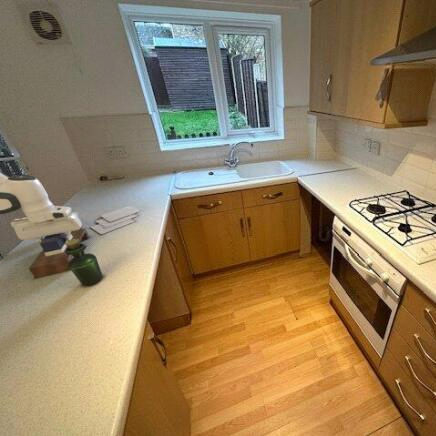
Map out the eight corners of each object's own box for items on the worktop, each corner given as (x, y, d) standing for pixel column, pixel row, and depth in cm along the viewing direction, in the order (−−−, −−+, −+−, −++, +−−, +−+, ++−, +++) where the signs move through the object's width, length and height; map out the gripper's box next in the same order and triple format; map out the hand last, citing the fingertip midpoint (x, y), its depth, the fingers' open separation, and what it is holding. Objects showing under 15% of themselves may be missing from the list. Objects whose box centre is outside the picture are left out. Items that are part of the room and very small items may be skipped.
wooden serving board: (35, 278, 94) (28, 268, 92) (59, 242, 116) (54, 234, 114) (73, 269, 98) (67, 259, 96) (89, 236, 121) (85, 228, 118)
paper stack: (149, 215, 140) (149, 214, 140) (101, 234, 122) (100, 233, 122) (130, 206, 152) (129, 205, 152) (83, 222, 134) (82, 221, 134)
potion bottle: (107, 280, 92) (87, 242, 84) (80, 291, 87) (57, 251, 79) (103, 270, 97) (84, 233, 89) (78, 280, 92) (56, 241, 84)
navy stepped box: (62, 252, 100) (56, 240, 98) (46, 256, 98) (38, 244, 96) (72, 236, 112) (66, 225, 109) (57, 239, 110) (51, 228, 107)
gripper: (3, 223, 91) (23, 252, 98) (70, 212, 99) (84, 240, 105) (12, 216, 96) (30, 244, 103) (75, 206, 104) (88, 233, 110)
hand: (58, 242), depth 104 cm, fingers open, 6 cm apart
